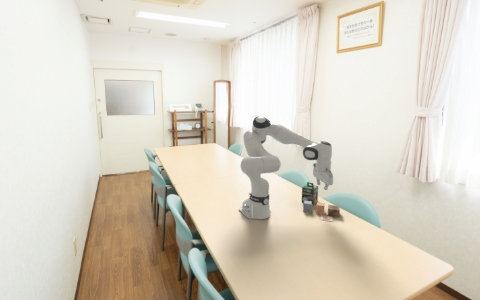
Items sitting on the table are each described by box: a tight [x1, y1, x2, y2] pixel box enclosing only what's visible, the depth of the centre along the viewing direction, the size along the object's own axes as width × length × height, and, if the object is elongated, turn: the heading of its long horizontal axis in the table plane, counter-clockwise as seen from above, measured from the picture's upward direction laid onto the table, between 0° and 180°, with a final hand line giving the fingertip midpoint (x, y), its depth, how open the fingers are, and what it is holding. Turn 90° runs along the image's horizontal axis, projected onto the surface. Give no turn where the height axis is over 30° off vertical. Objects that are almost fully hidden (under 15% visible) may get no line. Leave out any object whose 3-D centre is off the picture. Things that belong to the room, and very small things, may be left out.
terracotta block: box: [315, 201, 326, 216], centre depth 175 cm, size 5×5×6 cm
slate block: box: [302, 200, 313, 213], centre depth 178 cm, size 5×5×6 cm
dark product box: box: [301, 181, 319, 205], centre depth 192 cm, size 9×9×15 cm
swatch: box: [320, 214, 333, 223], centre depth 167 cm, size 7×6×1 cm
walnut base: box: [327, 204, 341, 218], centre depth 172 cm, size 7×7×5 cm
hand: (321, 187), depth 172 cm, fingers open, 8 cm apart
